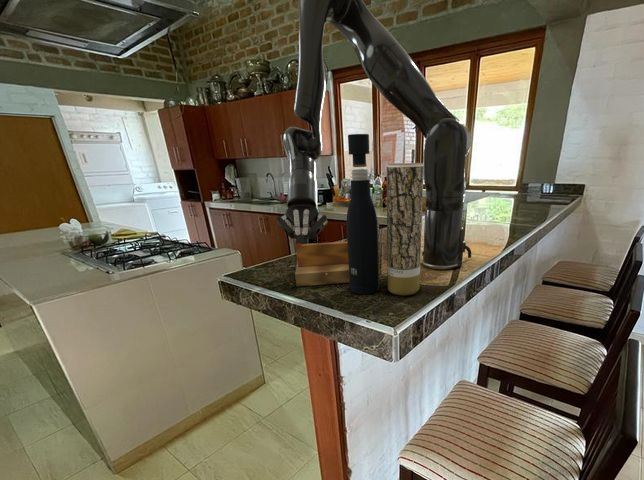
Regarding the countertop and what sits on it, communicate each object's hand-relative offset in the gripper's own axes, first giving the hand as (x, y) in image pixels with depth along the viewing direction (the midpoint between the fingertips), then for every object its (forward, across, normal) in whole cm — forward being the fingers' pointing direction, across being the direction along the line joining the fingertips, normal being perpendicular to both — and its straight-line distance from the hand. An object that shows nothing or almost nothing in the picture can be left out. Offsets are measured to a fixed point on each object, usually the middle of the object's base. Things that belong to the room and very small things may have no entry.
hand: (302, 251), depth 80 cm
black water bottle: (+12, +14, -4) cm, 19 cm away
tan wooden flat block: (+3, +5, +1) cm, 6 cm away
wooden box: (+5, +5, +4) cm, 8 cm away
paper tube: (+14, +22, -6) cm, 27 cm away
